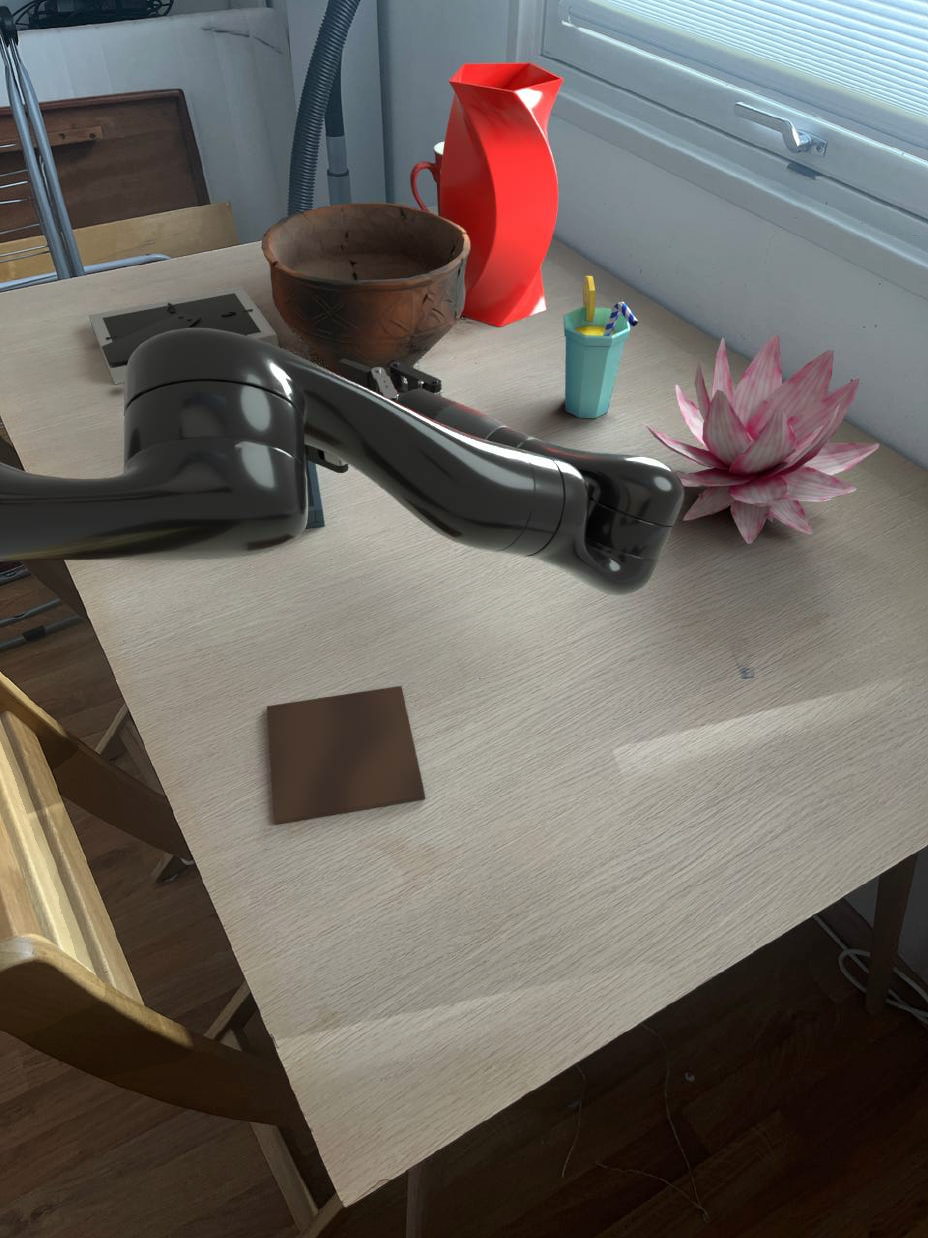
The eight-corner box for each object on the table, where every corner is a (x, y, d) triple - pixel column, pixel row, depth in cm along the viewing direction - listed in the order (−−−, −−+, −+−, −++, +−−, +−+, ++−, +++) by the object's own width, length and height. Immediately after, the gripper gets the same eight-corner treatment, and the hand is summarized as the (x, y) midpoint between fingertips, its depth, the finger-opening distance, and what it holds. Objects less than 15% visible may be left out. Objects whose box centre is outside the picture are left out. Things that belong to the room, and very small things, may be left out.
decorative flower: (776, 431, 101) (814, 304, 90) (891, 545, 86) (953, 411, 76) (604, 460, 96) (623, 331, 86) (695, 586, 82) (731, 449, 71)
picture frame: (114, 384, 107) (279, 349, 114) (108, 363, 105) (276, 328, 112) (92, 329, 117) (245, 300, 124) (86, 309, 115) (241, 280, 122)
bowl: (509, 346, 115) (515, 228, 104) (388, 429, 100) (381, 301, 90) (364, 296, 125) (356, 183, 114) (236, 364, 111) (213, 243, 100)
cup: (647, 435, 100) (670, 308, 89) (585, 447, 98) (601, 320, 88) (593, 376, 109) (608, 256, 99) (535, 387, 107) (545, 265, 97)
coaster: (275, 825, 63) (274, 822, 63) (267, 709, 71) (266, 706, 71) (425, 799, 65) (425, 796, 65) (402, 688, 73) (401, 685, 72)
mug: (484, 227, 144) (486, 136, 134) (496, 249, 137) (499, 155, 128) (408, 232, 142) (405, 140, 133) (416, 254, 136) (413, 160, 126)
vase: (555, 322, 120) (576, 89, 100) (452, 332, 117) (452, 95, 98) (524, 276, 130) (537, 57, 111) (429, 285, 128) (425, 62, 108)
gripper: (500, 373, 74) (356, 320, 81) (389, 449, 66) (241, 382, 73) (497, 449, 79) (363, 392, 86) (395, 528, 71) (256, 458, 78)
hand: (307, 388), depth 79 cm, fingers open, 8 cm apart
